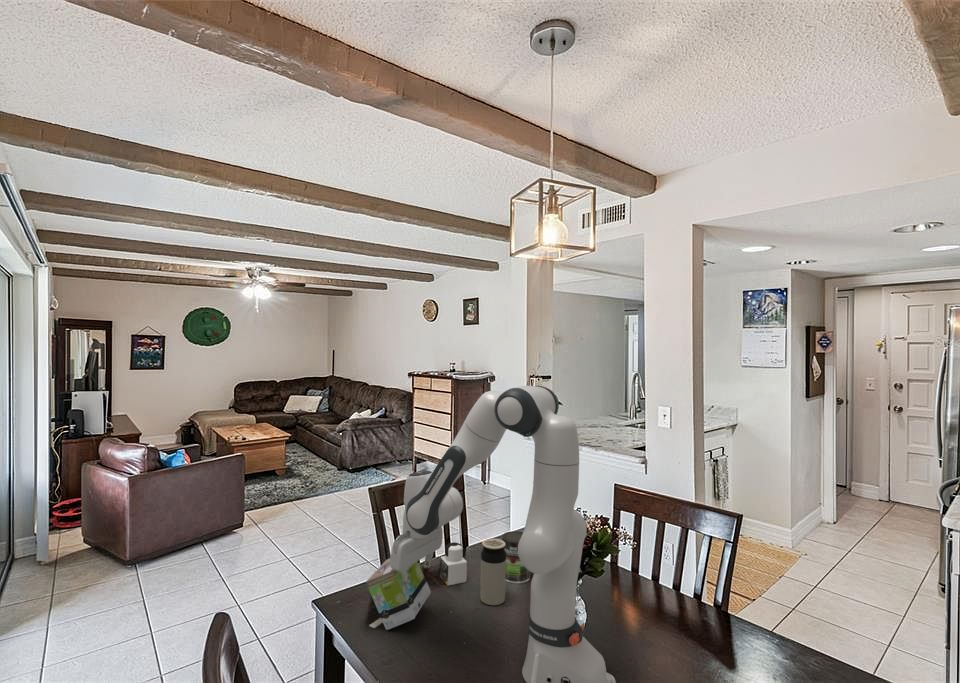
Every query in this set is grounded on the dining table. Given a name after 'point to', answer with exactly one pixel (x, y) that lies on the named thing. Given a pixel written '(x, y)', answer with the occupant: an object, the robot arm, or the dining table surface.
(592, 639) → the dining table surface
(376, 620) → the strip
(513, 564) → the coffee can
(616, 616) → the dining table surface
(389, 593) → the tea box
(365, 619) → the dining table surface
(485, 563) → the travel mug
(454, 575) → the medicine bottle
